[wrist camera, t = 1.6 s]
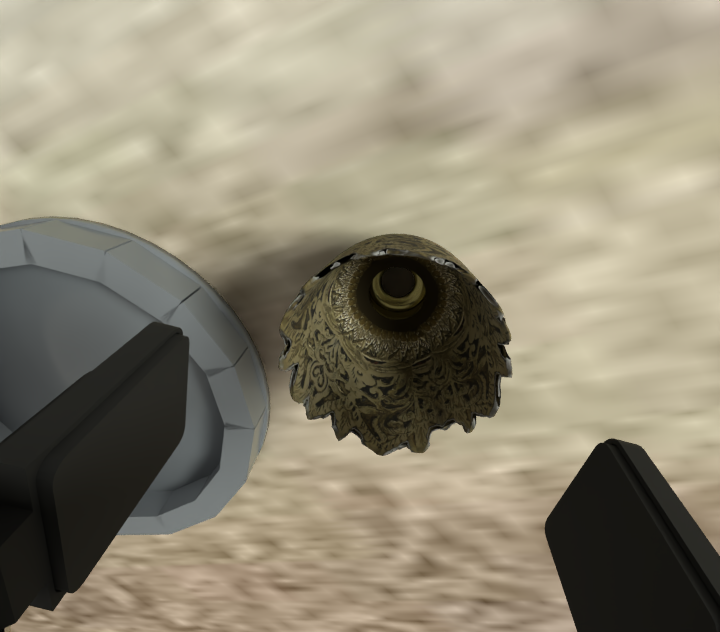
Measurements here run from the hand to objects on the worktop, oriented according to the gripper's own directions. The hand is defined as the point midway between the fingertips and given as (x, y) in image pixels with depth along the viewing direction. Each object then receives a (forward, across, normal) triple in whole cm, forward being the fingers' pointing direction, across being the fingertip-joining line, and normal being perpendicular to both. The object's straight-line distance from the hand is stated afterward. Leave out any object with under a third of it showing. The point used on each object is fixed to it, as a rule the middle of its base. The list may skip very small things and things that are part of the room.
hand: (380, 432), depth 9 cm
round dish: (+12, +15, +12) cm, 22 cm away
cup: (+12, 0, +1) cm, 12 cm away
